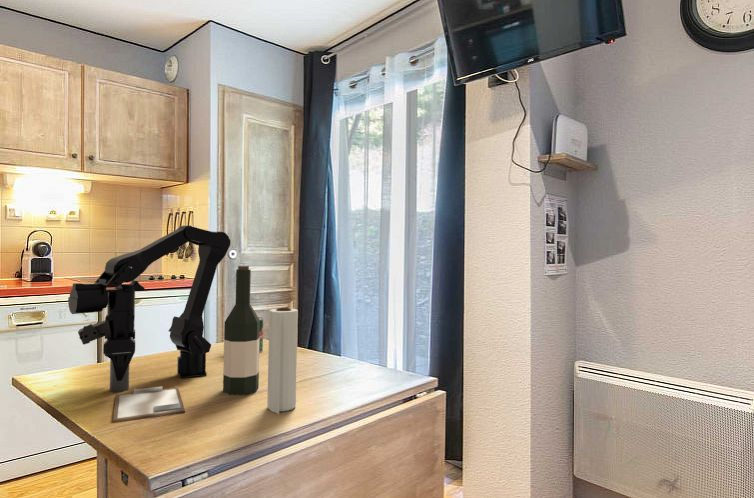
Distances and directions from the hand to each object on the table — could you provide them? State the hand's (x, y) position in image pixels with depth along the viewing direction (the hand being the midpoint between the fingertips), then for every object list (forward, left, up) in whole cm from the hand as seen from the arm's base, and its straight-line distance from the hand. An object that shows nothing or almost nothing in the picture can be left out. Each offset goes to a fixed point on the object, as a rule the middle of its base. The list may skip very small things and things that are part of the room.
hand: (119, 375), depth 110 cm
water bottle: (0, 0, -3) cm, 3 cm away
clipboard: (-6, +14, -3) cm, 16 cm away
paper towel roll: (-31, +28, -4) cm, 42 cm away
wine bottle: (-26, +12, -4) cm, 29 cm away
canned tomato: (-37, -28, -4) cm, 46 cm away
